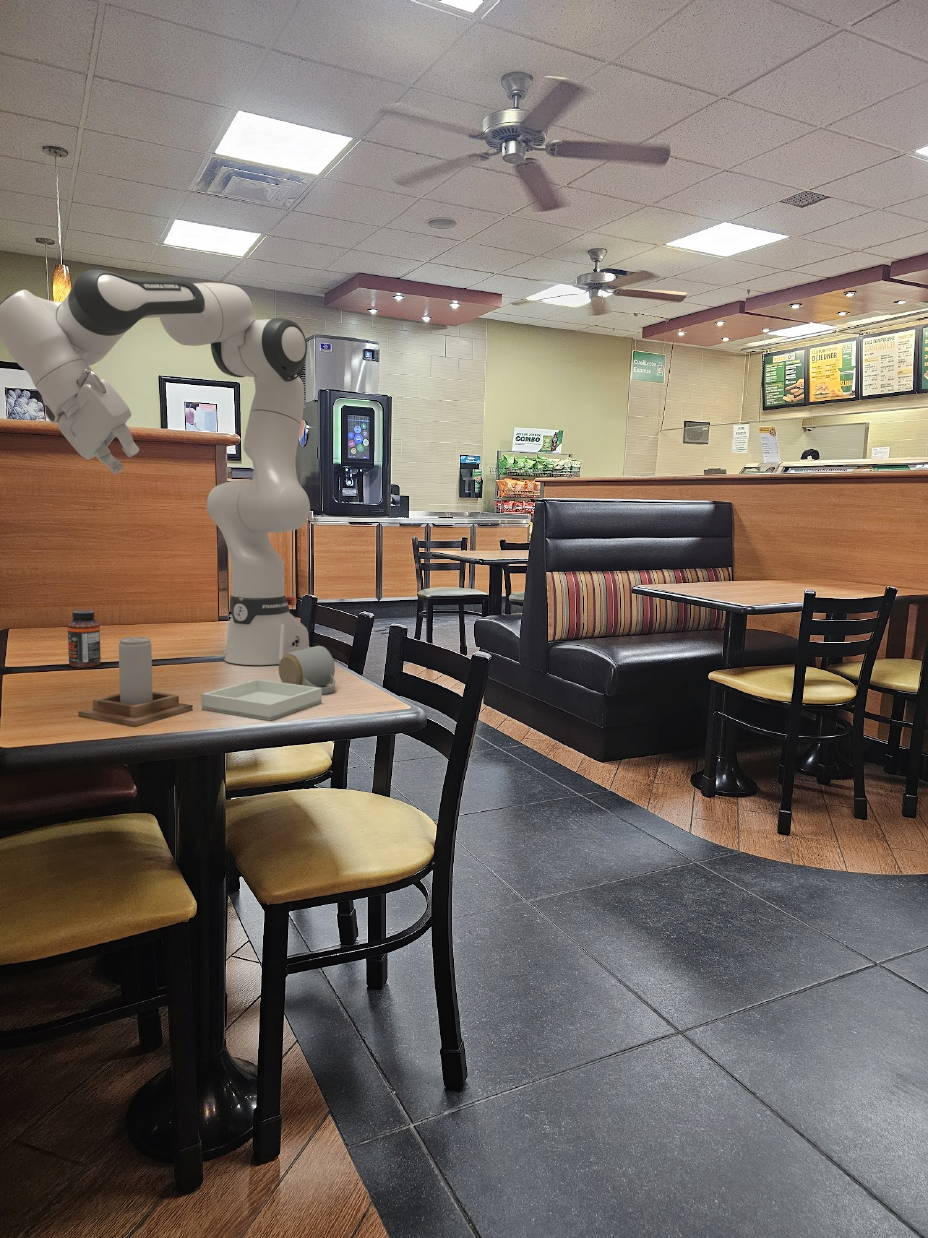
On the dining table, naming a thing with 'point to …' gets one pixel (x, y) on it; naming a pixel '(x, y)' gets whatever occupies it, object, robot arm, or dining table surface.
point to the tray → (262, 699)
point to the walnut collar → (135, 709)
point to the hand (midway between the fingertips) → (126, 463)
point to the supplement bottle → (84, 640)
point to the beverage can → (135, 670)
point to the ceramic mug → (309, 668)
